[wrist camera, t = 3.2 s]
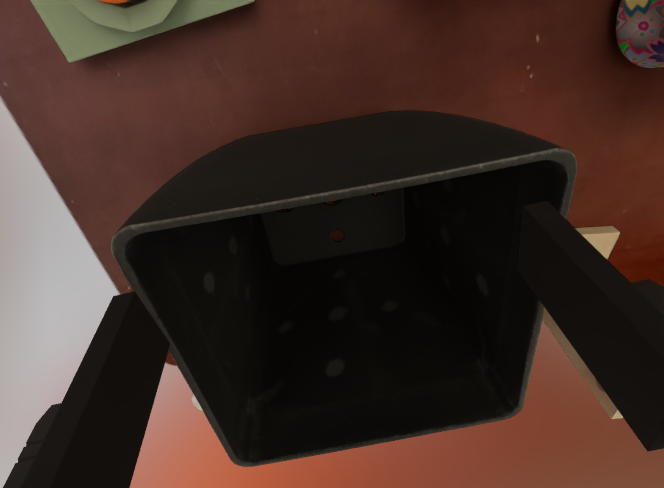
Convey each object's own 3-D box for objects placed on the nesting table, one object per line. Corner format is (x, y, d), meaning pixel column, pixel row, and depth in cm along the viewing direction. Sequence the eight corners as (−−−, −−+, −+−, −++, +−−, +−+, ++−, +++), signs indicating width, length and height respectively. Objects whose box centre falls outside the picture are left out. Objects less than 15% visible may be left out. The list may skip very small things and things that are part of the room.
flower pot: (447, 53, 29) (592, 148, 15) (442, 260, 40) (524, 421, 27) (183, 100, 29) (95, 234, 16) (251, 293, 40) (235, 470, 27)
